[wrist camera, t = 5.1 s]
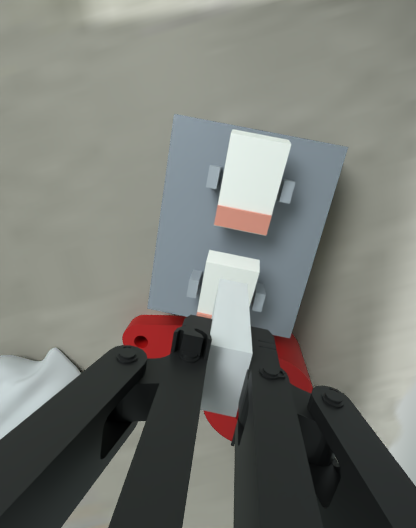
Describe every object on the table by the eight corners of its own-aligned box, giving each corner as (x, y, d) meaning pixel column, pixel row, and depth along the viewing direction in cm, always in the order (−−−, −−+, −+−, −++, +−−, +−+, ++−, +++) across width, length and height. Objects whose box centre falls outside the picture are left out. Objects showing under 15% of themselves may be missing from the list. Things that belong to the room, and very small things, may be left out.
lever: (313, 329, 32) (332, 371, 26) (284, 404, 35) (294, 458, 28) (137, 284, 32) (112, 315, 26) (123, 362, 35) (97, 407, 29)
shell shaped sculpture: (11, 437, 40) (-31, 487, 34) (-29, 347, 36) (-84, 386, 30) (110, 429, 38) (85, 481, 32) (78, 334, 34) (43, 372, 28)
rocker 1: (232, 129, 20) (230, 133, 19) (289, 139, 20) (291, 144, 19) (216, 216, 23) (213, 226, 22) (265, 226, 23) (265, 236, 22)
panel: (185, 121, 27) (167, 109, 20) (332, 150, 27) (364, 146, 20) (161, 286, 32) (139, 320, 25) (285, 312, 31) (298, 354, 24)
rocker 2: (209, 249, 23) (205, 262, 21) (259, 259, 23) (259, 273, 21) (197, 312, 26) (194, 327, 25) (241, 321, 26) (240, 337, 24)
